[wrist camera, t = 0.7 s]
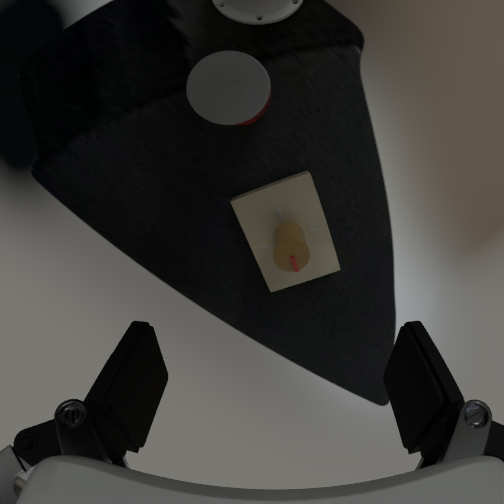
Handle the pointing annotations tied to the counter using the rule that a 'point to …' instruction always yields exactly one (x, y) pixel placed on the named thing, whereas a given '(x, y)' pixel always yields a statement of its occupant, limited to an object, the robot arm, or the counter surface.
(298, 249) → the tap handle
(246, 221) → the plate
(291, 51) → the counter surface
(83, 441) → the robot arm
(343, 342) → the counter surface
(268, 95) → the canned food
